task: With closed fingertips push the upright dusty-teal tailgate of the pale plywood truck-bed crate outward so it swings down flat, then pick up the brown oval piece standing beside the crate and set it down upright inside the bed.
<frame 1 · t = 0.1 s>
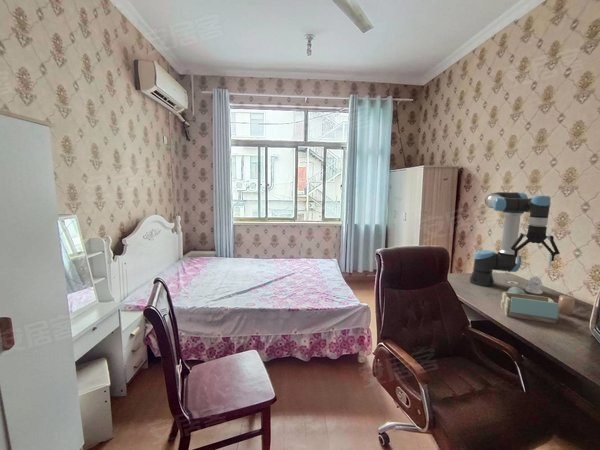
hand: (532, 265, 157), 28 cm above the table, fingers open, 13 cm apart
crate: (527, 314, 161), on the table
tailgate: (533, 308, 152), point 7 cm above the table, hinge at -4.0°
figurine: (533, 291, 195), on the table
brown oval piece: (564, 313, 163), on the table
spool: (515, 301, 178), on the table
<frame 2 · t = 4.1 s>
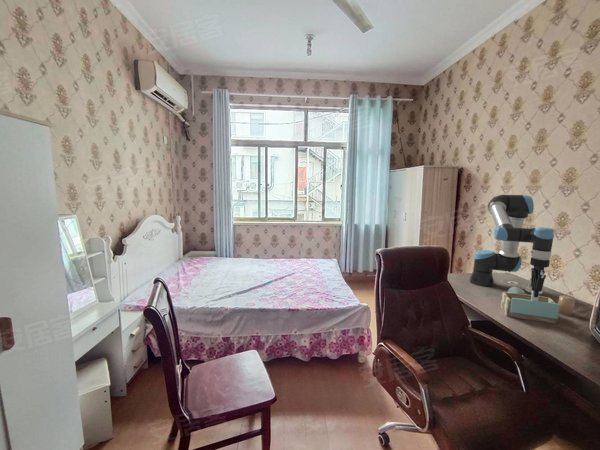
hand: (534, 302, 152), 10 cm above the table, fingers closed
tailgate: (533, 308, 152), point 7 cm above the table, hinge at 3.5°, touching gripper
everything else where it was.
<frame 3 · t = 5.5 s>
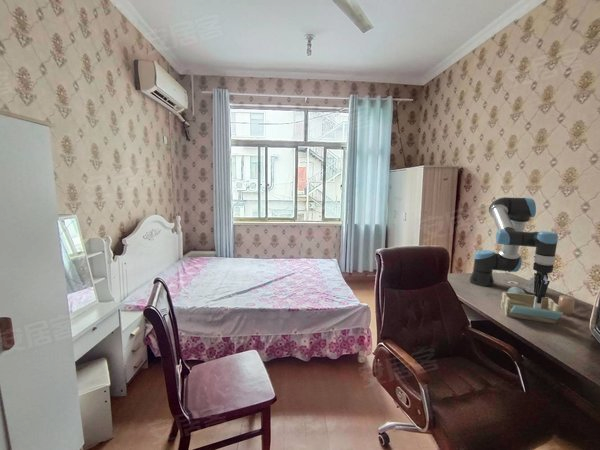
hand: (537, 308, 148), 8 cm above the table, fingers closed
tailgate: (535, 312, 150), point 6 cm above the table, hinge at 46.4°, touching gripper
everything else where it was.
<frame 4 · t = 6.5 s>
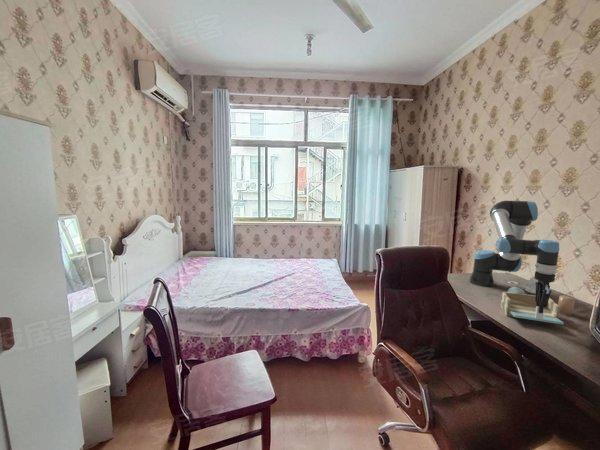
hand: (538, 318, 145), 5 cm above the table, fingers closed
tailgate: (535, 317, 149), point 4 cm above the table, hinge at 82.0°, touching gripper
everything else where it was.
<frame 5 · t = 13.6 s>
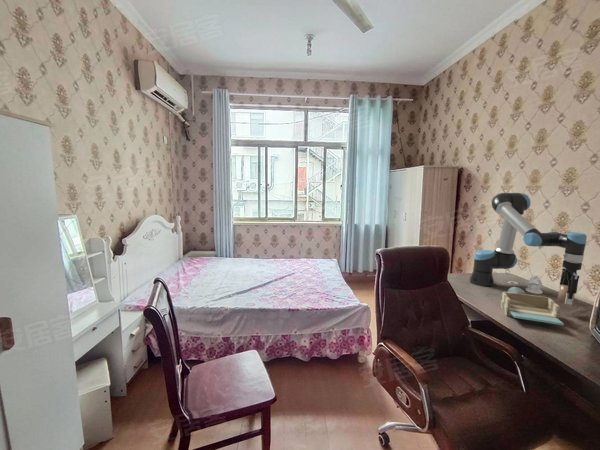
hand: (565, 301, 163), 6 cm above the table, fingers closed on brown oval piece, 6 cm apart
tailgate: (535, 317, 149), point 3 cm above the table, hinge at 84.4°
brown oval piece: (565, 302, 163), point 6 cm above the table, touching gripper
everything else where it was.
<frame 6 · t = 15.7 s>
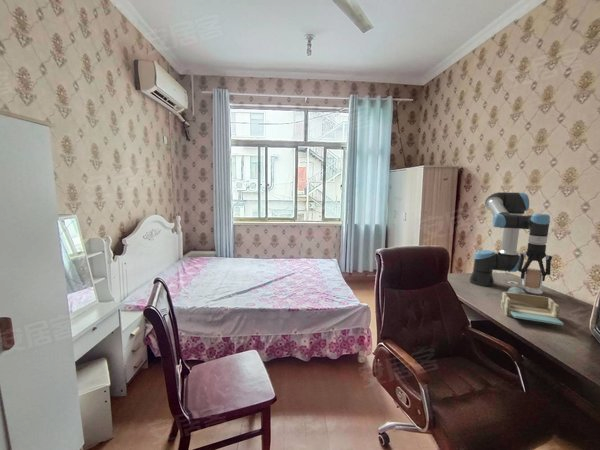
hand: (531, 285, 158), 17 cm above the table, fingers closed on brown oval piece, 6 cm apart
brown oval piece: (531, 286, 158), point 16 cm above the table, touching gripper
everything else where it was.
when the fingers open (4 cm above the table, at t = 17.8 s): brown oval piece drops 1 cm, resting on crate.
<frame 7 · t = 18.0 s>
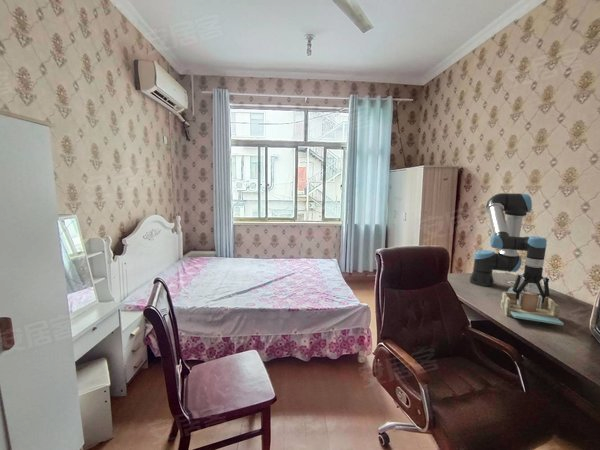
hand: (528, 306, 159), 5 cm above the table, fingers open, 8 cm apart
brown oval piece: (528, 309, 160), point 3 cm above the table, touching crate
everything else where it was.
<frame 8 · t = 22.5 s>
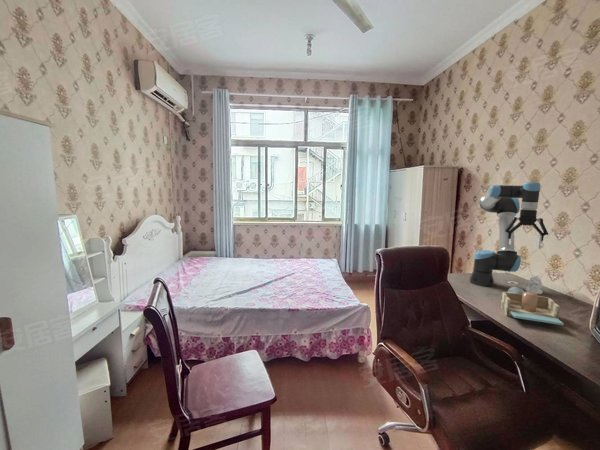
hand: (524, 245, 173), 35 cm above the table, fingers open, 13 cm apart
nothing on the table moved.
at the end: tailgate at +84° (first picture: -4°); brown oval piece inside the target area on the crate (0.2 cm from its centre), point 3.0 cm above the crate's base; brown oval piece tilted 0° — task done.
